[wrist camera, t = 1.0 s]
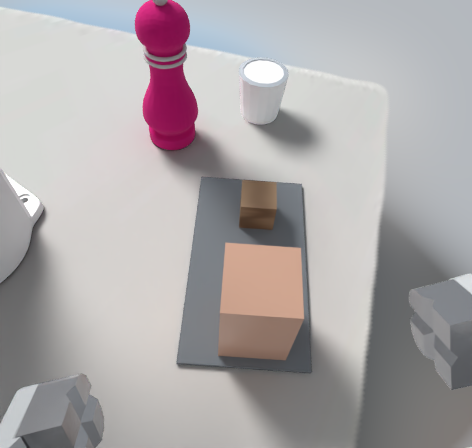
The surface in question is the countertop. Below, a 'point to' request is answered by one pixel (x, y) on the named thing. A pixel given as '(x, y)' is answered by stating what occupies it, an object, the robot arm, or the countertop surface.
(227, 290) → the tan rectangular block
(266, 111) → the white cup
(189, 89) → the pepper mill
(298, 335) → the mat
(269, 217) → the block
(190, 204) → the countertop surface
